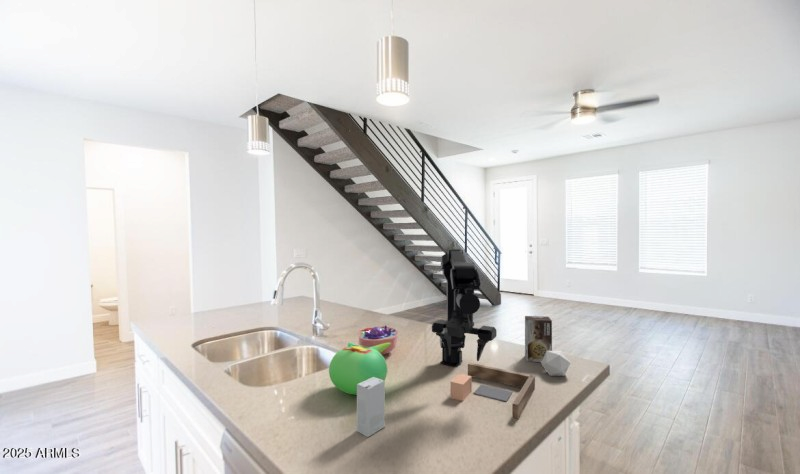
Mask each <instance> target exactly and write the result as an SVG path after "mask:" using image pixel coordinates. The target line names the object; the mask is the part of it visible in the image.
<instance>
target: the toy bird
mask: <svg viewBox="0 0 800 474" xmlns="http://www.w3.org/2000/svg"><path fill="white" fill-rule="evenodd" d="M390 345H391V343H384V344H380V345H376V346H373V347H367V346H359V344H358V345H357V344H355V343H354V342H351V341H349V342H348V343H347V346H346V347H344V348H342V349H340V350H338V351H337V352H336V353H335V354H334V356H333V357H332V359H331V360H330V363H329V366H328V374H329V378H330V381H331V382H332V384H333V385H334V386H335V387H336V388H337V389H338V390H340V391H341V392H343V393H346V394H349V395H356V396H357V384H359V383H361V382H363V381H366V380H368V379H370V378H372V377H375V378H378V379H381V380H384V381H385V380H386V377H387V375H388V365H387V361H386V358H385V357H384V356H383V355H381V354H380V353H381V352H382V351H383V350H385V349H386V348H387V347H389V346H390ZM385 382H386V381H385Z"/></svg>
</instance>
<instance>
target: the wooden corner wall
mask: <svg viewBox="0 0 800 474" xmlns="http://www.w3.org/2000/svg"><path fill="white" fill-rule="evenodd" d="M467 375H468V376H472V378H475V379H476V378H477V379H481V380H484V381H485V380H486V381H490V382H496V383H500V384H504V385H508V386H513V387H517V388H521V389H520V390H519V392H518V393H517V395H516V397H515V399H514V400H513V402H512V409H511V410H512V413H511V414H512V415H511V416H512V418H511V419H513V420H517V421H518V420H519V419H520V417H521V415H522V414H523V412H524V410H525V408H526V406H527V404H528V402H529V400H530V399H531V397H532V396H533V393H534V391H535V390H536V376H535V375H533V374H528V373H522V372H519V371H512V370H507V369H502V368H499V367H493V366H488V365H483V364H478V363H472V362H468V363H467Z"/></svg>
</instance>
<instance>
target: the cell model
mask: <svg viewBox="0 0 800 474" xmlns="http://www.w3.org/2000/svg"><path fill="white" fill-rule="evenodd" d="M357 335H358V346H367V347H373V346H376V345H380V344H384V343H391V345H390V346H389V347H387V348H386V349H385V350H383V351H382V352H381V353H380V354H381V355H382V356H383V355H385V354H388V353H390V352H392V351H393V350H395V348H397V347H396V346H397V345H398V339H399V330H397V329H396V328H394V327H390V326H387V325H382V326H373V327H367V328H362V329H359V330H358V331H357Z"/></svg>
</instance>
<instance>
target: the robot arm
mask: <svg viewBox="0 0 800 474" xmlns="http://www.w3.org/2000/svg"><path fill="white" fill-rule="evenodd" d="M463 251H464V250H463V249H460V248H450V249H448V250H447V252H446V253H445V254H443V255H441V259H440V270H441V271H442V275H443V277H444V278H445V280H446V319H445V320H444V319H438V320H436V321H435V322H433V323H432V325H431V333H435V335H436V336H438V337H439V346H440V348H441V351H442V352H441V353H442V354H441V356H442V357H441V361H440V362H439V363H440V364H442V365H447V366H451V367H458V366H460V365H461V364H462V362H463V351H462V349H464V348H465V343H466V334H469V335H476V336H477V337H478V339H477V340H476V343H477V349H476V361H477V362H479V361H480V359H481V357H482V354H483V351H484V349H485V346H486V345H487V343H489V342H490V341H491V342H493V340H494V339H495V338H496V337H497V329H496V327H495V326H489V325H482V326H480V327H479V328H478V327H474V326H475V322H474V314H475V313H477V312H478V311H479V309H480V307H481V301H480V298H479V297H478V296H477V295H476V294H475V291H477V290H480V287H481V279H480V278H481V277H480V275H479V272H478V269H477V268H475V265H474V264H473V263H470V262H467V260H466V256H465V255H464V252H463Z"/></svg>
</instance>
